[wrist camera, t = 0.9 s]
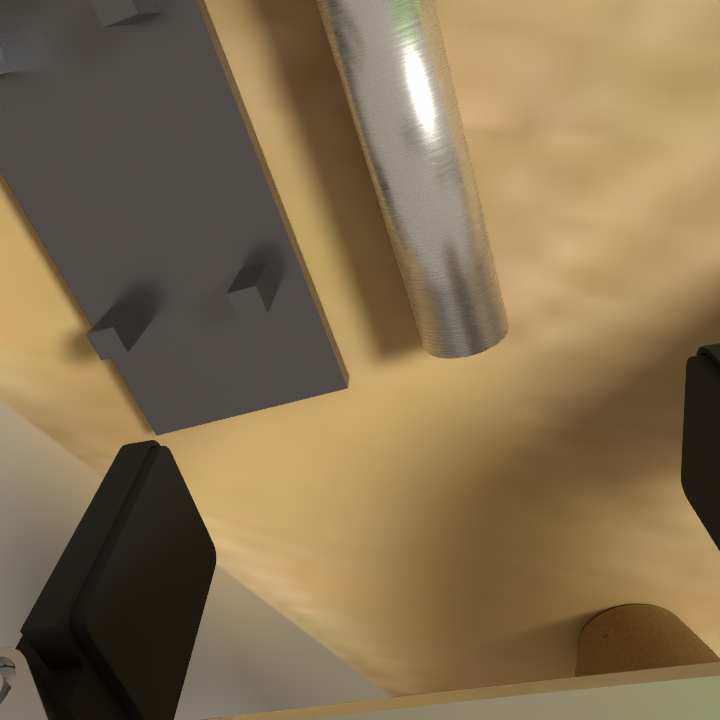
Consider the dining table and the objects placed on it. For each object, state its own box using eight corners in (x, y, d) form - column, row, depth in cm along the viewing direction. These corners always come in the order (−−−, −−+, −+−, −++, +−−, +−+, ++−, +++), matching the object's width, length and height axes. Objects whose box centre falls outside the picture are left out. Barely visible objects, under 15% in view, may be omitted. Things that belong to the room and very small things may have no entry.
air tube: (287, -106, 25) (268, -126, 21) (396, -152, 24) (398, -180, 20) (420, 326, 34) (424, 368, 30) (502, 304, 33) (517, 344, 30)
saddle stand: (108, -248, 23) (-75, -402, 14) (349, 376, 36) (333, 503, 27) (-151, -120, 25) (-449, -182, 16) (162, 423, 38) (92, 554, 29)
